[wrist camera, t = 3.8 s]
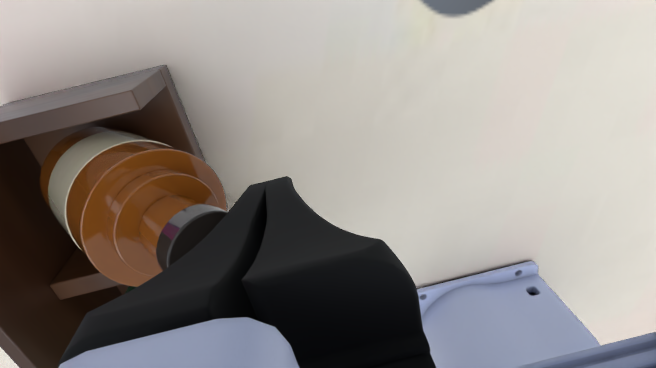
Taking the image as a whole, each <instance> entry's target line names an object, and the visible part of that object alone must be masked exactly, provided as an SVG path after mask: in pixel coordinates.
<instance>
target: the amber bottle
mask: <svg viewBox="0 0 656 368" xmlns="http://www.w3.org/2000/svg"><path fill="white" fill-rule="evenodd" d="M40 188H41V193H42V195H43V198H44V200H45V202H46V204H47V206H48V207H49V208H50V210H51V211H52V212H53V214H54V215H55V217H56V219H57V220H58V222H59V223H60V224H61V226H62V227H63V228H64V229H65V231H66V232H67V233H68V235H69V236H70V237H71V239H72V240H73V241H74V243H75V244H76V245H77V246H78V248H79V249H80V250H82V251H83V253H84V254H85V255H86V256H87V258H88V259H89V260H90V262H91V263H92V264H93V266H94V267H95V268H96V269H97V270H98V271H99V272H100V273H102V274H103V275H104V276H106V277H107V278H109V279H111V280H113V281H115V282H117V283H120V284H124V285H127V286H134V287H138V286H140V285H141V284H143V283H145V282H146V281H148V280H150V279H151V278H153V277H154V276H156V275H158V274H159V273H161V272H162V271H164V270H165V269H166V268H168V267H169V266H170V265H172V264H173V263H175V262H176V261H177V260H179V259H180V258H181V257H183V256H184V255H185V254H187V253H188V252H189V251H190V250H191V249H193V248H194V247H195V246H196V245H197V244H198V243H200V242H201V241H202V240H203V239H204V238H205V237H206V236H207V235H208V234H209V233H210V232H211V231H212V230H213V229H214V228H215V227H216V225H217V224H218V223H219V222H220V221H221V220H222V219H223V218H224V217H225V216H226V214H227V213H228V212H227V211H226V198H225V193H224V190H223V187H222V184H221V182H220V180H219V178H218V177H217V175H216V174H215V172H214V171H213V170H212V169H211V168H210V166H209V165H207V164H206V163H205V162H204V161H202V160H201V159H199V158H198V157H196V156H194V155H192V154H190V153H187V152H184V151H181V150H179V149H176V148H173V147H171V146H169V145H166V144H164V143H161V142H158V141H155V140H152V139H149V138H147V137H144V136H141V135H138V134H134V133H130V132H127V131H125V130H121V129H118V128H113V127H102V126H101V127H91V128H85V129H82V130H79V131H76V132H74V133H72V134H70V135H68V136H67V137H65V138H63V139H62V140H61V141H60V142H58V143H57V144H56V145H55V146H54V147H53V148H52V149H51V151H50V152H49V154H48V155H47V157H46V159H45V161H44V163H43V166H42V169H41V174H40Z"/></svg>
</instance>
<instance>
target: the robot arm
mask: <svg viewBox="0 0 656 368" xmlns="http://www.w3.org/2000/svg"><path fill="white" fill-rule="evenodd" d="M516 271H517V272H516ZM422 294H424V295H422ZM421 295H422V296H421ZM58 368H656V332H653V333H649V334H645V335H641V336H637V337H633V338H629V339H625V340H621V341H617V342H614V343H610V344H606V345H602V346H601V345H600V344H599V342H598V341H597V340H596V338H595V337H594V336H593V335H592V334H591V332H590V331H589V330H588V329H587V328H586V327H585V326H584V325H583V323H582V322H581V321H580V320H579V319H578V318H577V317H576V316H575V315H574V314H573V312H572V311H571V310H570V309H569V308H568V307H567V306H566V305H565V304H564V302H563V301H562V300H561V299H560V298H559V297H558V296H557V295H556V294H555V292H554V291H553V290H552V289H551V288H550V287H549V286H548V285H547V284H546V283H545V281H544V280H543V279H542V278H541V277H540V276H539V275H538V265H537V264H536V263H535V262H533V261H529V262H525V263H521V264H517V265H513V266H509V267H505V268H501V269H497V270H493V271H489V272H485V273H481V274H477V275H473V276H469V277H465V278H461V279H457V280H453V281H449V282H445V283H441V284H437V285H433V286H429V287H425V288H421V289H416V286H415V284H414V282H413V280H412V278H411V276H410V275H409V273H408V271H407V270H406V268H405V267H404V266H403V264H402V263H401V261H400V260H399V259H398V258H397V256H396V255H395V254H394V253H393V251H392V250H391V249H390V248H389V247H388V246H387V244H386V243H385V242H384V241H382V240H380V239H375V238H369V237H364V236H360V235H356V234H353V233H350V232H347V231H345V230H342V229H340V228H338V227H336V226H334V225H332V224H331V223H329V222H327V221H326V220H324V219H323V218H322V217H320V216H319V215H318V214H317V213H315V212H314V211H313V210H312V209H311V208H310V207H309V206H308V205H307V204H306V203H305V202H304V201H303V200H302V198H301V197H300V196H299V195H298V193H297V192H296V191H295V189H294V187H293V184H292V180H291V178H289V177H287V176H286V177H282V178H278V179H274V180H270V181H266V182H262V183H258V184H254V185H250V186H249V187H248V188H247V189H246V191H245V192H244V193H243V194H242V196H241V197H240V198H239V199H238V201H237V202H236V203H235V204H234V206H233V207H232V208H231V209H230V211H229V212H228V213H227V214H226V216H225V217H224V218H223V219H222V220H221V221H220V222H219V223H218V224H217V225H216V227H215V228H214V229H213V230H212V231H211V232H210V233H209V234H208V235H207V236H206V237H205V238H204V239H203V240H202V241H201V242H200V243H198V244H197V245H196V246H195V247H194V248H193V249H191V250H190V251H189V252H188V253H187V254H185V255H184V256H183V257H181V258H180V259H179V260H177V261H176V262H175V263H173V264H172V265H170V266H169V267H168V268H166V269H165V270H164V271H162V272H161V273H159V274H158V275H156V276H154V277H153V278H151V279H150V280H148V281H146V282H145V283H143V284H141V285H140V286H138V287H136V288H135V289H133V290H131V291H129V292H127V293H126V294H124V295H122V296H120V297H118V298H116V299H114V300H112V301H110V302H108V303H106V304H104V305H102V306H100V307H98V308H96V309H94V310H92V311H89V312H87V313H86V315H85V317H84V319H83V320H82V322H81V324H80V326H79V327H78V329H77V331H76V333H75V334H74V336H73V338H72V340H71V341H70V343H69V345H68V347H67V348H66V350H65V352H64V354H63V355H62V357H61V359H60V361H59V364H58Z"/></svg>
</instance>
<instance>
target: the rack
mask: <svg viewBox="0 0 656 368" xmlns="http://www.w3.org/2000/svg"><path fill="white" fill-rule="evenodd" d="M101 126H102V127H113V128H118V129H121V130H125V131H127V132H130V133H134V134H138V135H141V136H144V137H147V138H149V139H152V140H155V141H158V142H161V143H164V144H166V145H169V146H171V147H173V148H176V149H179V150H181V151H184V152H187V153H190V154H192V155H194V156H196V157H198V158H199V159H201V160H202V161H204V162H205V160H204V158H203V155H202V153H201V150H200V148H199V145H198V143H197V140H196V138H195V135H194V133H193V131H192V128H191V126H190V123H189V121H188V118H187V116H186V113H185V111H184V108H183V106H182V103H181V101H180V98H179V96H178V93H177V91H176V89H175V86H174V84H173V81H172V79H171V76H170V74H169V71H168V69H167V66H166V65H162V66H158V67H154V68H150V69H146V70H141V71H137V72H133V73H129V74H125V75H121V76H117V77H113V78H109V79H105V80H101V81H96V82H92V83H88V84H84V85H80V86H76V87H72V88H68V89H64V90H60V91H56V92H51V93H47V94H43V95H39V96H35V97H31V98H27V99H23V100H19V101H15V102H11V103H7V104H5V105H3V106H0V347H1V348H2V349H3V350H4V351H5V352H6V353H7V354H8V355H9V357H10V358H11V359H12V360H13V361H14V362H15V363H16V364H17V365H18V366H19V367H20V368H58V364H59V361H60V359H61V357H62V355H63V354H64V352H65V350H66V348H67V347H68V345H69V343H70V341H71V340H72V338H73V336H74V334H75V333H76V331H77V329H78V327H79V326H80V324H81V322H82V320H83V319H84V317H85V315H86V313H87V312H89V311H92V310H94V309H96V308H98V307H100V306H102V305H104V304H106V303H108V302H110V301H112V300H114V299H116V298H118V297H120V296H122V295H124V294H125V292H126V290H127V288H128V287H129V286H127V285H124V284H120V283H117V282H115V281H113V280H111V279H109V278H107V277H106V276H104V275H103V274H102V273H100V272H99V271H98V270H97V269H96V268H95V267H94V266H93V264H92V263H91V262H90V260H89V259H88V258H87V256H86V255H85V254H84V253H83V251H82V250H80V249H79V248H78V246H77V245H76V244H75V243H74V241H73V240H72V239H71V237H70V236H69V235H68V233H67V232H66V231H65V229H64V228H63V227H62V226H61V224H60V223H59V222H58V220H57V219H56V217H55V215H54V214H53V212H52V211H51V210H50V208H49V207H48V206H47V204H46V202H45V200H44V198H43V195H42V193H41V188H40V174H41V169H42V166H43V163H44V161H45V159H46V157H47V155H48V154H49V152H50V151H51V149H52V148H53V147H54V146H55V145H56V144H57V143H58V142H60V141H61V140H62V139H63V138H65V137H67V136H68V135H70V134H72V133H74V132H76V131H79V130H82V129H85V128H91V127H101Z"/></svg>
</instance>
